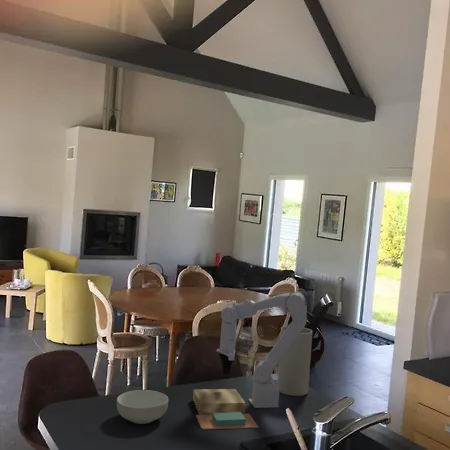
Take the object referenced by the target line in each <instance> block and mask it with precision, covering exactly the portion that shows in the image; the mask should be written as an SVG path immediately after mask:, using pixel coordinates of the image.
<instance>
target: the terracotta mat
mask: <svg viewBox="0 0 450 450" xmlns="http://www.w3.org/2000/svg"><path fill="white" fill-rule="evenodd" d="M243 416H244V417H245V419H246V425H238V426H216V425H215V423H214V421H213V420H212V415H200V414H196V415H195V417H196V419H198V420H197V421H198V425H199V427H200V429H201V428H202V429H201V430H227V429H228V430H229V429H230V430H231V429H232V430H233V429H258V428H259V426H258V424H257V423H256V422H255V419H254V418H253V417H252V416H251V414H250V413H245V414H243Z"/></svg>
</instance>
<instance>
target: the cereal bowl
mask: <svg viewBox="0 0 450 450" xmlns="http://www.w3.org/2000/svg"><path fill="white" fill-rule="evenodd" d="M168 407H169V397H168V396H167V395H166V394H164V393H163V392H160V391H156V390H148V389H136V390H129V391H125V392H123V393H121V394H120V395H118V397H117V398H116V409H117V411H118V414H119V415H120V417H122V418H123V419H125V420H128V421H130V422H132V423H134V424H137V425H138V424H139V425H144V424H150V423H151V422H152V423H153V422H154V421H156V420H158V419H160V418H161V417H162V416H164V415H165V413H166V412H167V410H168Z"/></svg>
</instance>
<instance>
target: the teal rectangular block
mask: <svg viewBox="0 0 450 450" xmlns="http://www.w3.org/2000/svg"><path fill="white" fill-rule="evenodd" d="M212 420H213V421H214V423H215V425H216V426H238V425H246V419H245V417H244V416H243V414H242V413H241V412H230V413H212Z"/></svg>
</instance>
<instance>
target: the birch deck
mask: <svg viewBox="0 0 450 450" xmlns="http://www.w3.org/2000/svg"><path fill="white" fill-rule="evenodd" d="M192 393H193V395H192V396H193V397H192V402H193V401H194V402H193V403H195V404H194V405H196V406H195V409H196V410H197V412H198V415H212V413H230V412H241V413H242V414H246V402H245V400H244V398H242V396H241V395H240V393H239V392H238V390H237V389H236V388H217V389H215V388H214V389H213V388H211V389H210V388H209V389H207V388H203V389H201V388H199V389H193V392H192Z"/></svg>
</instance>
